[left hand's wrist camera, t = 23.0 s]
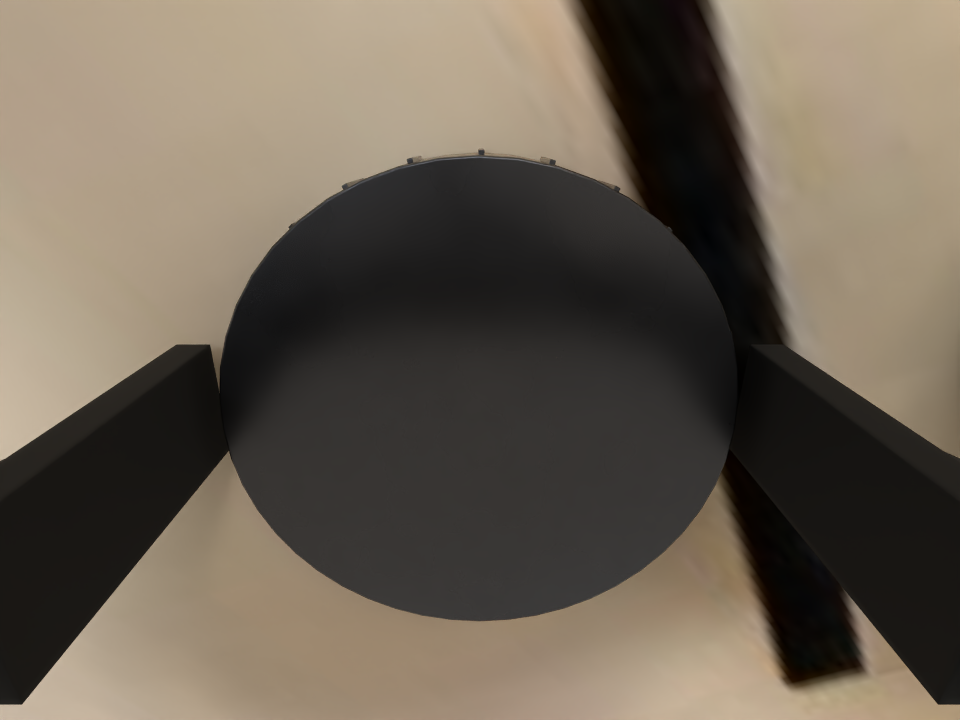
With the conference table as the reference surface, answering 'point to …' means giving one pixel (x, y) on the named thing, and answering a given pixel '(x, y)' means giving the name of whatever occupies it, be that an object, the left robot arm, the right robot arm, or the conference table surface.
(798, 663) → the conference table surface
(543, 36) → the conference table surface
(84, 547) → the left robot arm
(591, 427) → the lid
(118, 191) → the conference table surface
